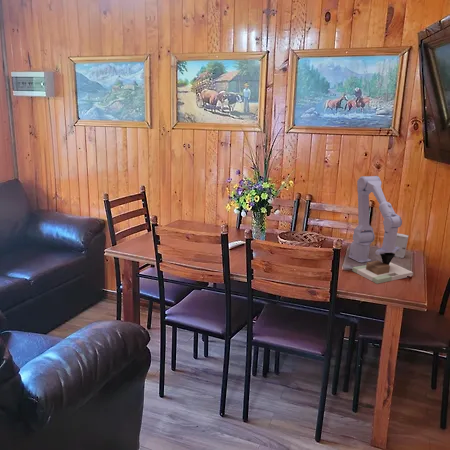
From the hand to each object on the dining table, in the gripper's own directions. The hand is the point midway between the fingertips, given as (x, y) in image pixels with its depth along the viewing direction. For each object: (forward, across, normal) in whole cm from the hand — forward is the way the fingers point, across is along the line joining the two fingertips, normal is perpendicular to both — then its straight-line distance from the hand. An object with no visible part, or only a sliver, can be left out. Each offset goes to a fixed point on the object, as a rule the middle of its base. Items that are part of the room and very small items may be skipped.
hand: (385, 266), depth 214 cm
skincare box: (+4, +26, +14) cm, 30 cm away
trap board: (+3, -1, 0) cm, 4 cm away
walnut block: (+1, -5, 0) cm, 5 cm away
